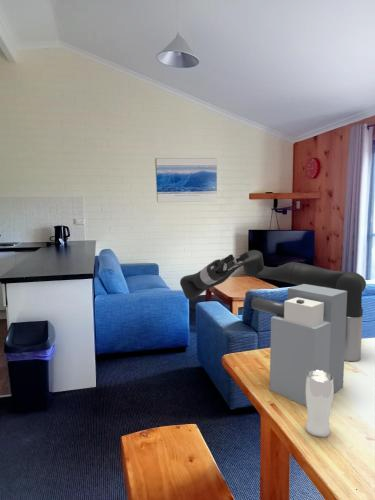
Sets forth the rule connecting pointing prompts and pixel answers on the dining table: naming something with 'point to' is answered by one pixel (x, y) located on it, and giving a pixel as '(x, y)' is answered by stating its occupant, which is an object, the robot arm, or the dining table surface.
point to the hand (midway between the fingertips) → (240, 255)
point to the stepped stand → (308, 344)
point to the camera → (293, 310)
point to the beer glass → (318, 402)
